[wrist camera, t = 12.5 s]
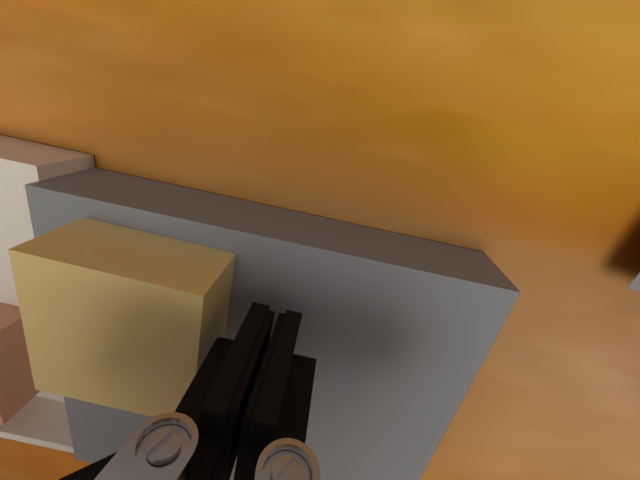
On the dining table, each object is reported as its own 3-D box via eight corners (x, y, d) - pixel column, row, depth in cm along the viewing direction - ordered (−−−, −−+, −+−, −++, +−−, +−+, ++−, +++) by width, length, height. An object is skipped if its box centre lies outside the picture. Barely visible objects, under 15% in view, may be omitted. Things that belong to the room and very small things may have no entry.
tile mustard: (220, 365, 12) (191, 425, 10) (93, 335, 12) (35, 389, 10) (235, 253, 10) (203, 296, 8) (84, 217, 10) (7, 249, 8)
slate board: (386, 465, 18) (393, 528, 16) (116, 406, 18) (75, 459, 16) (483, 251, 13) (520, 292, 10) (94, 167, 13) (24, 184, 10)
